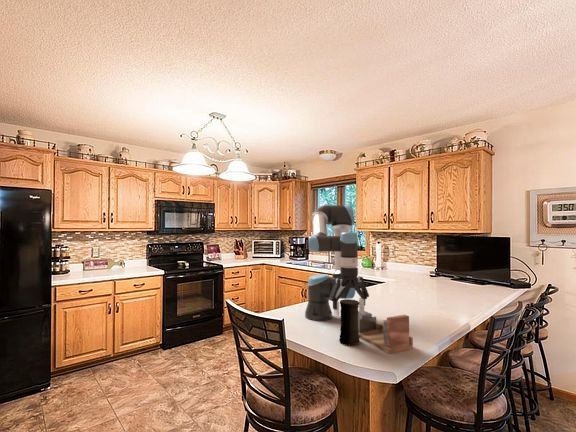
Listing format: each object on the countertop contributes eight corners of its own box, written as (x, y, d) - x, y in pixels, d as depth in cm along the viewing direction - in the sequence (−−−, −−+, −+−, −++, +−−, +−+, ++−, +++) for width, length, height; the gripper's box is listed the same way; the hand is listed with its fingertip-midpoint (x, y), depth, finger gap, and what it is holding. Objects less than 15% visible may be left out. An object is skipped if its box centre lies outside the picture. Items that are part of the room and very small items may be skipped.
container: (356, 338, 141) (356, 298, 142) (362, 346, 132) (362, 303, 133) (337, 338, 141) (337, 298, 141) (341, 346, 132) (341, 304, 132)
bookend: (350, 328, 150) (350, 312, 150) (367, 325, 154) (366, 310, 154) (359, 332, 144) (359, 316, 144) (376, 329, 148) (376, 313, 148)
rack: (353, 335, 145) (353, 306, 145) (375, 331, 151) (375, 303, 151) (389, 353, 124) (389, 320, 125) (412, 348, 130) (412, 316, 130)
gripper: (330, 269, 129) (330, 320, 128) (376, 266, 139) (377, 313, 139) (320, 267, 135) (320, 316, 135) (365, 264, 146) (366, 309, 145)
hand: (349, 315), depth 137 cm, fingers open, 13 cm apart
